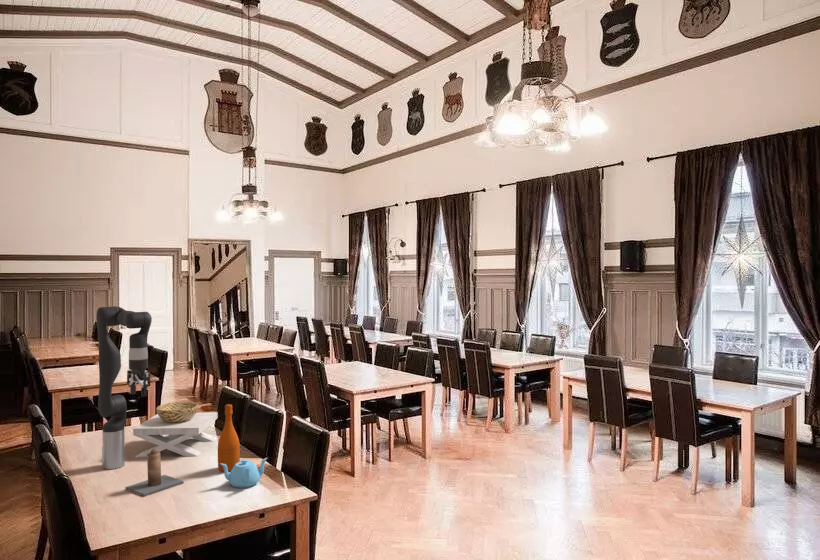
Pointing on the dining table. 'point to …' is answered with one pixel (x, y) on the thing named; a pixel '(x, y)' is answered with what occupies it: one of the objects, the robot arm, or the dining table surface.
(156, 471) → the pepper mill
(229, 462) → the wine bottle
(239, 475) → the teapot
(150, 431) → the white x-leg bench
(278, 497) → the dining table surface
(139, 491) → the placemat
